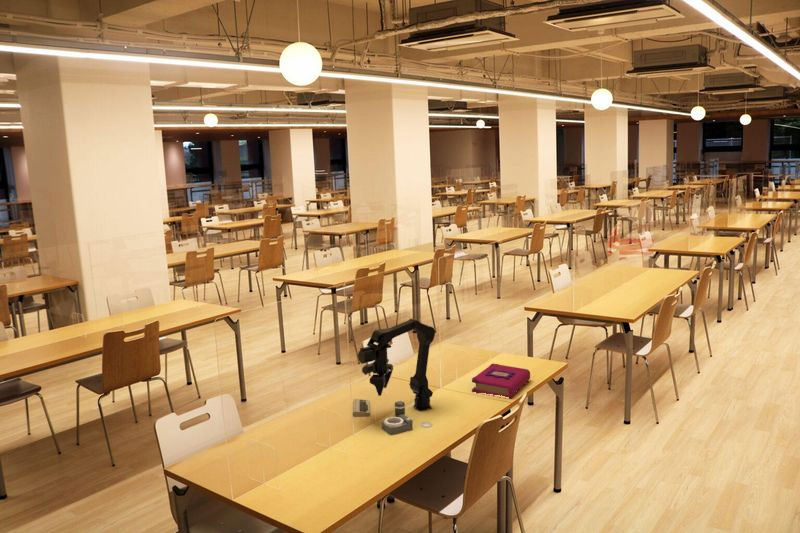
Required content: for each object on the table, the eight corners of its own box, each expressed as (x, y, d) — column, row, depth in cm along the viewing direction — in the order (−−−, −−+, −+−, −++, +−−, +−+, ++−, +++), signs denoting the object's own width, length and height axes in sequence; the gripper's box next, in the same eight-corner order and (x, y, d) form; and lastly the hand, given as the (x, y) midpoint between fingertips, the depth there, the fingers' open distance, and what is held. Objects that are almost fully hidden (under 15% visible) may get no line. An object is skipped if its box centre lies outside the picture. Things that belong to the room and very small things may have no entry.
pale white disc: (428, 422, 304) (428, 421, 304) (434, 426, 300) (434, 425, 300) (418, 425, 302) (418, 423, 302) (424, 429, 298) (424, 427, 297)
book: (530, 382, 353) (530, 368, 352) (510, 400, 330) (510, 385, 328) (492, 375, 364) (492, 362, 362) (470, 392, 340) (470, 378, 338)
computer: (370, 417, 311) (370, 410, 310) (352, 418, 311) (352, 411, 310) (369, 404, 327) (369, 397, 326) (353, 404, 326) (352, 398, 325)
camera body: (403, 423, 303) (403, 412, 302) (412, 429, 296) (412, 419, 295) (381, 428, 298) (381, 417, 297) (390, 435, 291) (390, 424, 290)
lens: (401, 415, 312) (401, 400, 311) (406, 418, 308) (406, 403, 307) (393, 417, 310) (392, 402, 309) (397, 420, 306) (397, 405, 305)
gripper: (369, 351, 314) (370, 383, 317) (357, 364, 296) (359, 398, 299) (392, 352, 311) (394, 384, 314) (382, 366, 293) (383, 400, 296)
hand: (382, 391), depth 306 cm, fingers open, 9 cm apart
